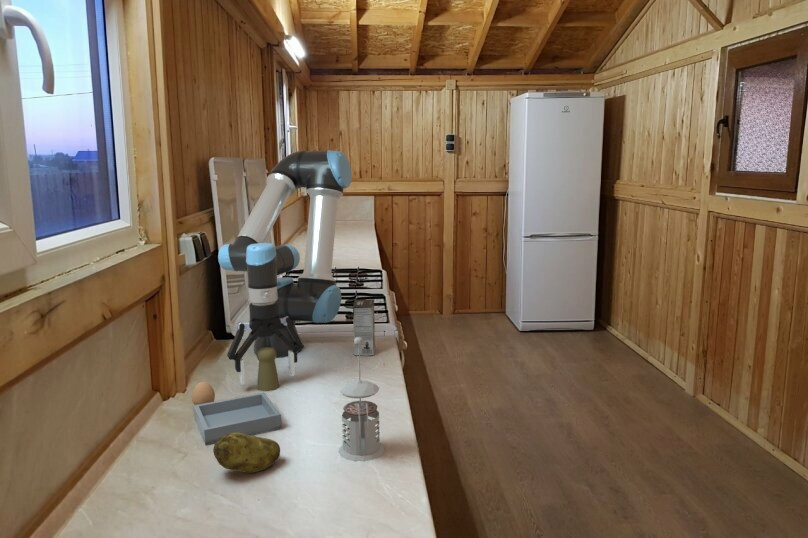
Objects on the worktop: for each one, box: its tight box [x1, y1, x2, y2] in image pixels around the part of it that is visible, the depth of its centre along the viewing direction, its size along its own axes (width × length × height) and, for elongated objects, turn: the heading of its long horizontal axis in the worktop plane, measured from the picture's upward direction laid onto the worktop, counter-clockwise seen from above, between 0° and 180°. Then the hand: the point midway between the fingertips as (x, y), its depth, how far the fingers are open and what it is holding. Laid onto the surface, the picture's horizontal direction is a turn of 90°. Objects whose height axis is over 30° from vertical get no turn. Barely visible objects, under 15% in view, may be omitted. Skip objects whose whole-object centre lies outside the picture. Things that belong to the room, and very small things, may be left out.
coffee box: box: [352, 299, 376, 356], centre depth 194 cm, size 9×6×16 cm
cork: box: [256, 347, 281, 392], centre depth 166 cm, size 6×6×11 cm
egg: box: [191, 381, 216, 406], centre depth 153 cm, size 5×5×7 cm
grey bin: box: [193, 392, 283, 446], centre depth 144 cm, size 17×15×4 cm
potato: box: [212, 433, 281, 474], centre depth 123 cm, size 8×13×8 cm, turn 104°
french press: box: [338, 337, 385, 462], centre depth 128 cm, size 10×12×25 cm
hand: (267, 378), depth 166 cm, fingers open, 13 cm apart
